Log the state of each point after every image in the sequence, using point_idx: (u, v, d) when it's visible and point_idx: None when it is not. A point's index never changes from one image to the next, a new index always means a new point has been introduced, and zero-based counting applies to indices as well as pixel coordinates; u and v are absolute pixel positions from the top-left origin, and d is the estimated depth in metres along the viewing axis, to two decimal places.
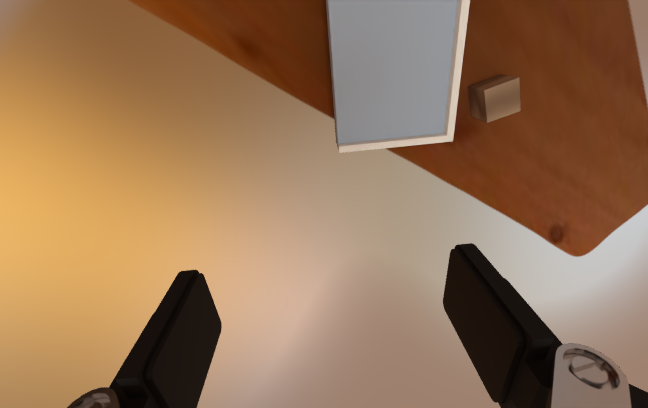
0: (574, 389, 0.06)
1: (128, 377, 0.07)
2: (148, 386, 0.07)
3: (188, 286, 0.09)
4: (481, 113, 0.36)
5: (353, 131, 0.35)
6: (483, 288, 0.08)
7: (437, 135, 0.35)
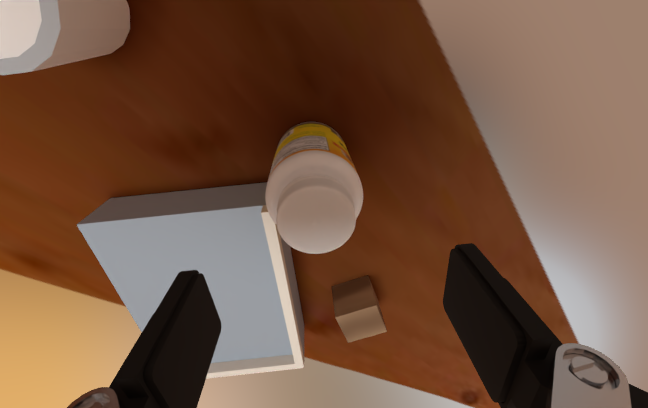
0: (574, 389, 0.06)
1: (128, 377, 0.07)
2: (148, 386, 0.07)
3: (188, 286, 0.09)
4: None
5: None
6: (483, 288, 0.08)
7: (284, 362, 0.28)
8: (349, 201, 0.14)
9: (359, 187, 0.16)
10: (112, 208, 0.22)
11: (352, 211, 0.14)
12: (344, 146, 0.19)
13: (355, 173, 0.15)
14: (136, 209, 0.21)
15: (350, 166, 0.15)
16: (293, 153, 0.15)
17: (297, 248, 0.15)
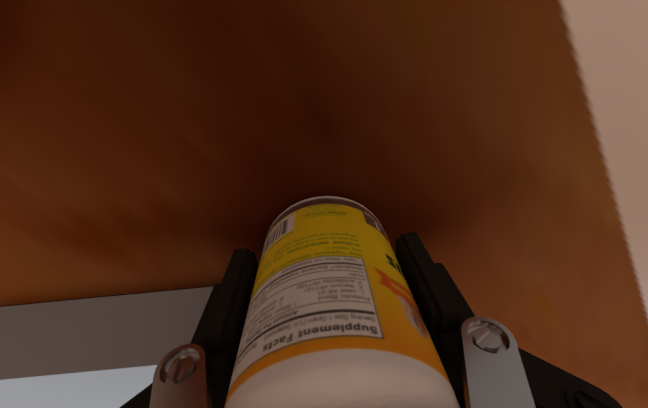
0: (481, 360, 0.07)
1: (213, 334, 0.08)
2: (227, 344, 0.08)
3: (245, 262, 0.10)
4: None
5: None
6: (414, 271, 0.09)
7: None
8: None
9: None
10: None
11: None
12: (394, 259, 0.10)
13: (452, 399, 0.06)
14: (15, 348, 0.12)
15: (440, 384, 0.06)
16: (290, 349, 0.06)
17: None
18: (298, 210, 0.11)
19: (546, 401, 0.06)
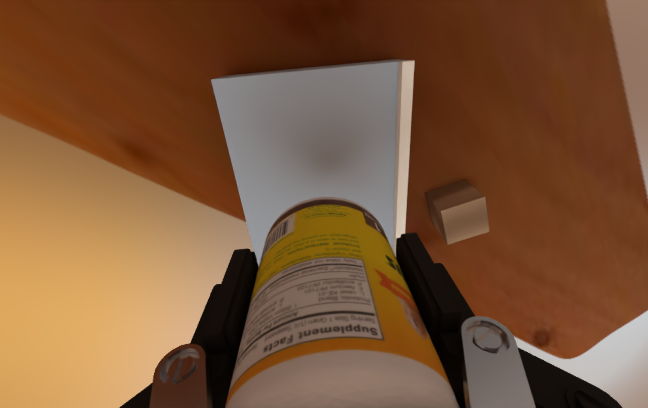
0: (481, 360, 0.07)
1: (213, 334, 0.08)
2: (227, 344, 0.08)
3: (245, 262, 0.10)
4: (441, 230, 0.28)
5: None
6: (414, 271, 0.09)
7: None
8: None
9: None
10: (237, 75, 0.22)
11: None
12: (394, 261, 0.10)
13: (452, 401, 0.06)
14: (263, 73, 0.21)
15: (440, 385, 0.06)
16: (291, 350, 0.06)
17: None
18: (298, 211, 0.11)
19: (546, 401, 0.06)
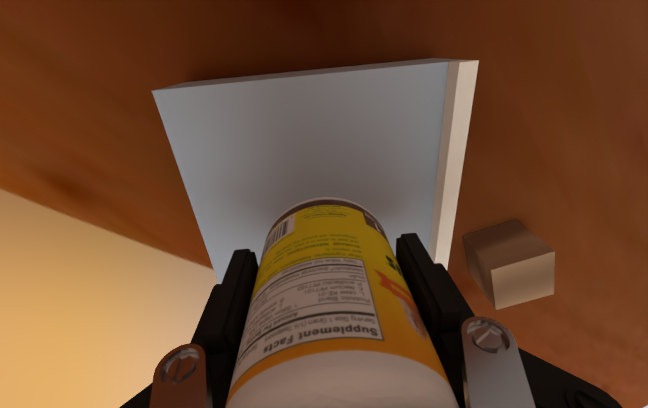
0: (481, 360, 0.07)
1: (213, 334, 0.08)
2: (227, 344, 0.08)
3: (245, 262, 0.10)
4: (485, 288, 0.21)
5: None
6: (414, 271, 0.09)
7: None
8: None
9: None
10: (198, 83, 0.14)
11: None
12: (394, 261, 0.10)
13: (452, 401, 0.06)
14: (237, 80, 0.14)
15: (440, 386, 0.06)
16: (291, 351, 0.06)
17: None
18: (298, 211, 0.11)
19: (546, 401, 0.06)
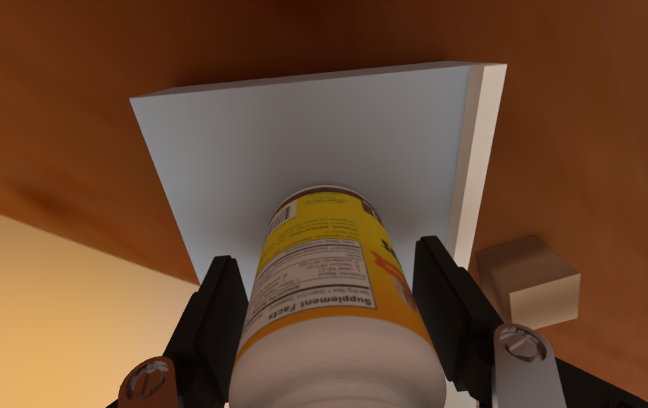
0: (513, 367, 0.06)
1: (183, 346, 0.07)
2: (199, 356, 0.08)
3: (225, 269, 0.10)
4: (501, 311, 0.19)
5: None
6: (438, 275, 0.09)
7: None
8: None
9: (443, 392, 0.07)
10: (184, 89, 0.13)
11: None
12: (389, 244, 0.10)
13: (436, 363, 0.07)
14: (228, 86, 0.12)
15: (426, 349, 0.07)
16: (294, 317, 0.07)
17: None
18: (300, 198, 0.12)
19: None
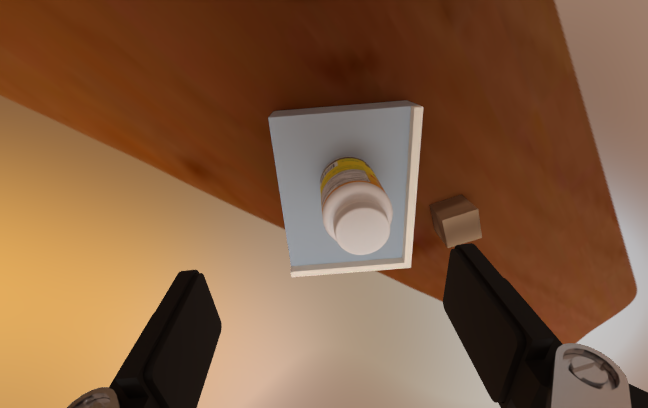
0: (574, 389, 0.06)
1: (128, 377, 0.07)
2: (148, 386, 0.07)
3: (188, 286, 0.09)
4: (442, 236, 0.34)
5: (306, 255, 0.33)
6: (483, 288, 0.08)
7: (395, 262, 0.33)
8: (386, 218, 0.20)
9: (391, 209, 0.22)
10: (284, 112, 0.28)
11: (388, 225, 0.20)
12: (376, 177, 0.26)
13: (388, 199, 0.22)
14: (306, 112, 0.28)
15: (385, 194, 0.22)
16: (345, 183, 0.22)
17: (347, 250, 0.21)
18: (338, 160, 0.27)
19: None
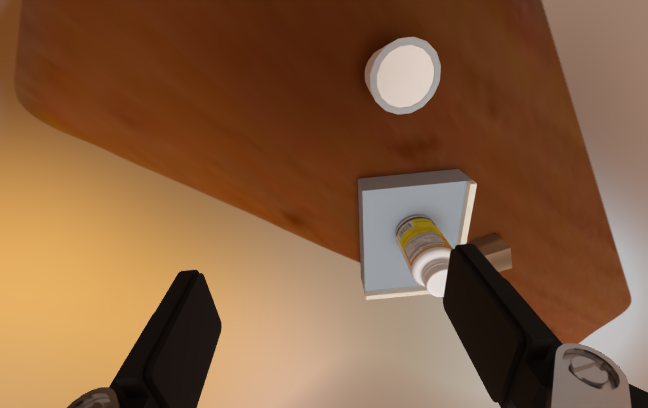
0: (574, 389, 0.06)
1: (128, 377, 0.07)
2: (148, 386, 0.07)
3: (188, 286, 0.09)
4: None
5: (377, 283, 0.44)
6: (483, 288, 0.08)
7: None
8: None
9: None
10: (370, 183, 0.38)
11: None
12: (442, 234, 0.36)
13: None
14: (387, 183, 0.37)
15: None
16: (429, 247, 0.32)
17: (433, 294, 0.31)
18: (412, 220, 0.37)
19: None
